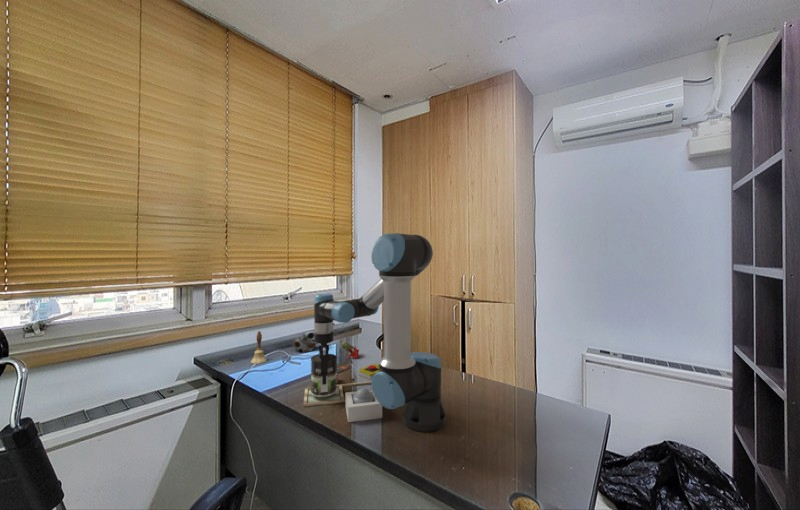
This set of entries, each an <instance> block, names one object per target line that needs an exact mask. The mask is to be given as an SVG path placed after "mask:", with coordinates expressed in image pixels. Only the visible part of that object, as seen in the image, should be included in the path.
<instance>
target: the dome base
mask: <svg viewBox="0 0 800 510" xmlns="http://www.w3.org/2000/svg"><path fill="white" fill-rule="evenodd" d="M368 390H369V391H370V393H372V394H373V402H367V403H358V404H353V396H354V394H356V392H357V391H358V390H357V391H355V390H354V391H348V392H345V394H344V395H345V396H344V399H345V402H344V404H345V412H346V417H347V423H355V422H363V421H369V420H377V419H382V418H383V406H382V405H381V404H380V403H379V402H378V401H377V399H376V398H375V396H374V393H373V390H372V389H368Z"/></svg>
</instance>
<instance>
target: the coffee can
mask: <svg viewBox="0 0 800 510" xmlns="http://www.w3.org/2000/svg"><path fill="white" fill-rule="evenodd" d="M337 357H338V356H337V355H336V354H333V353H328V358H327V359H328V392H321V376H319V375H320V374H321V359H320V353H319V354H315V355H313V356H311V358H310V361H311V363H310V366H311V368H310V374H311V375H310V376H311V377H310V379H311V381H310V385H311V386H310V387H311V394H312V395H313V396H315V397H327V396H331V395H333V394H334V393H336V391H337V390H336V385H337V383H336V364H337V359H338V358H337ZM324 373H326V372H324Z"/></svg>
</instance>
